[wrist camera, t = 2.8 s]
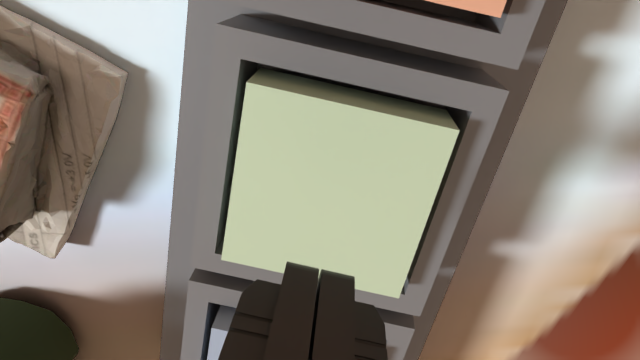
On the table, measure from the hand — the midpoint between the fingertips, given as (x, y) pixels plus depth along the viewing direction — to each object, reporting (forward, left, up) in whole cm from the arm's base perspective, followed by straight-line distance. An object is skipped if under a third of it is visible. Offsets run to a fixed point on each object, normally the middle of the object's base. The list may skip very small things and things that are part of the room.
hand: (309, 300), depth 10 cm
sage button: (0, 0, -6) cm, 6 cm away
